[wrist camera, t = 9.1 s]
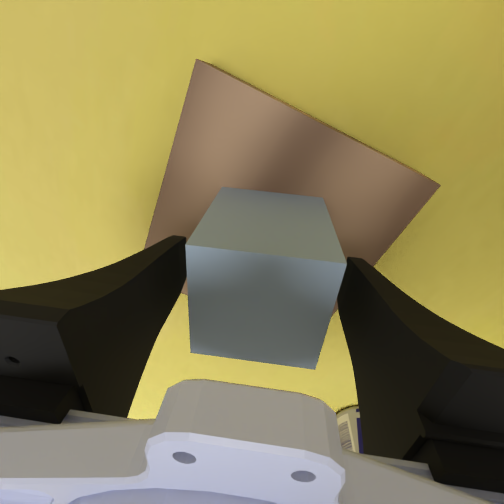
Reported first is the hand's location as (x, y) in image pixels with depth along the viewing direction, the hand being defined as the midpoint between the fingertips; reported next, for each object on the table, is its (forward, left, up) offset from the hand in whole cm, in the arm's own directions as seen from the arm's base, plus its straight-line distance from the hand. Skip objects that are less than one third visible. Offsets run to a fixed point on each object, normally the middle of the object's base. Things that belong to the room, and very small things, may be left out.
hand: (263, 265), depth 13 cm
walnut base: (0, 0, -5) cm, 5 cm away
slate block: (0, 0, -3) cm, 3 cm away
